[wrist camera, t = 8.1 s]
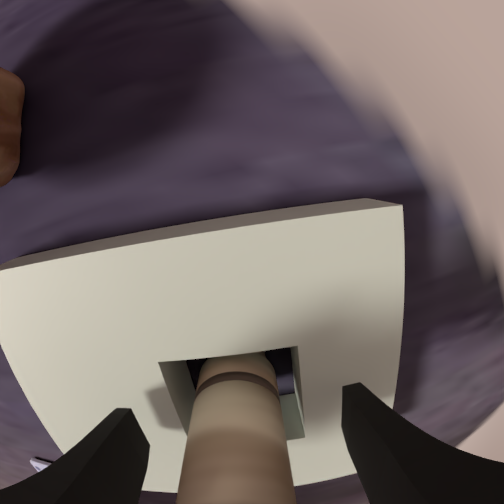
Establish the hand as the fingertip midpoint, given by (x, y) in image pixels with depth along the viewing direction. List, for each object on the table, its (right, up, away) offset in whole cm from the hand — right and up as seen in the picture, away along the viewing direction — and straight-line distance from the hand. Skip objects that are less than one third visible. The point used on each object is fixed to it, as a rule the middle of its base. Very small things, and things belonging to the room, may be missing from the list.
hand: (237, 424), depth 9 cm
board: (-2, +1, +4) cm, 4 cm away
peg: (0, +1, +4) cm, 4 cm away
